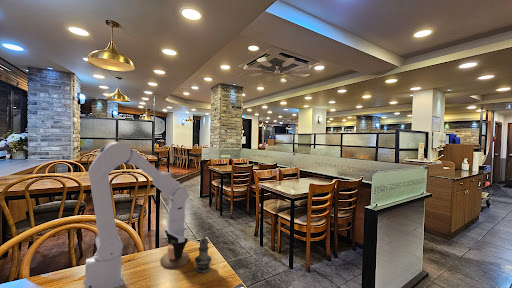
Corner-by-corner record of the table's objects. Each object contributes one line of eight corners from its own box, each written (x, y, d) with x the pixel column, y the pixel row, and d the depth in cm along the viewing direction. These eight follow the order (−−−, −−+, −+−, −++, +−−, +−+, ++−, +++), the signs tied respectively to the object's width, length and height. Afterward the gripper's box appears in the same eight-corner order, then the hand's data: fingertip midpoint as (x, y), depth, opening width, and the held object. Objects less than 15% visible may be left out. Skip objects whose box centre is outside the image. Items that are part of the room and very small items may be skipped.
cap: (169, 260, 79) (170, 250, 79) (166, 253, 83) (166, 244, 83) (184, 256, 82) (184, 246, 82) (180, 250, 86) (180, 240, 86)
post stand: (163, 271, 75) (164, 257, 75) (157, 257, 84) (158, 244, 83) (192, 263, 81) (193, 250, 81) (184, 251, 89) (184, 239, 89)
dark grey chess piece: (213, 265, 81) (214, 233, 80) (208, 274, 75) (209, 240, 75) (197, 263, 81) (199, 231, 81) (191, 272, 76) (193, 238, 75)
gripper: (193, 222, 78) (192, 259, 79) (181, 209, 90) (180, 242, 90) (173, 226, 74) (171, 265, 75) (163, 212, 86) (162, 246, 86)
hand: (175, 253), depth 82 cm, fingers open, 7 cm apart
